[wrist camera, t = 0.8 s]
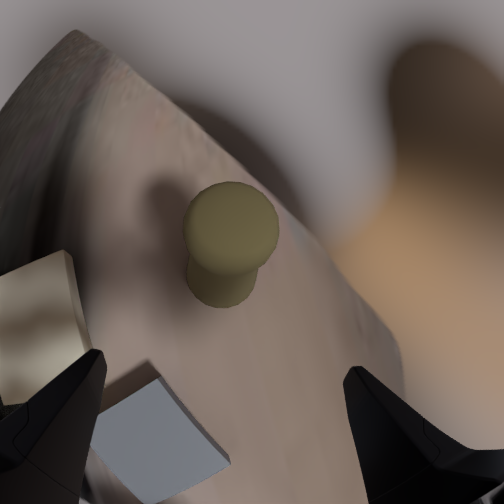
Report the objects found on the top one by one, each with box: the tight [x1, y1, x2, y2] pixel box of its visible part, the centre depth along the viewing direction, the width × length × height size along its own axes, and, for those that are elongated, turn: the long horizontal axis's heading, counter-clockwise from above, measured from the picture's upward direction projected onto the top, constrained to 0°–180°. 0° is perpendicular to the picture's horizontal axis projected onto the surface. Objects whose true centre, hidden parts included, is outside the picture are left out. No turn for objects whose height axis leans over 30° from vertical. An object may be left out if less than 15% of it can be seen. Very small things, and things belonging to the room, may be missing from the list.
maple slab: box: [0, 250, 105, 405], centre depth 17 cm, size 12×12×2 cm
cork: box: [183, 182, 279, 308], centre depth 18 cm, size 6×6×11 cm
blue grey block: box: [90, 376, 231, 504], centre depth 17 cm, size 9×9×2 cm
